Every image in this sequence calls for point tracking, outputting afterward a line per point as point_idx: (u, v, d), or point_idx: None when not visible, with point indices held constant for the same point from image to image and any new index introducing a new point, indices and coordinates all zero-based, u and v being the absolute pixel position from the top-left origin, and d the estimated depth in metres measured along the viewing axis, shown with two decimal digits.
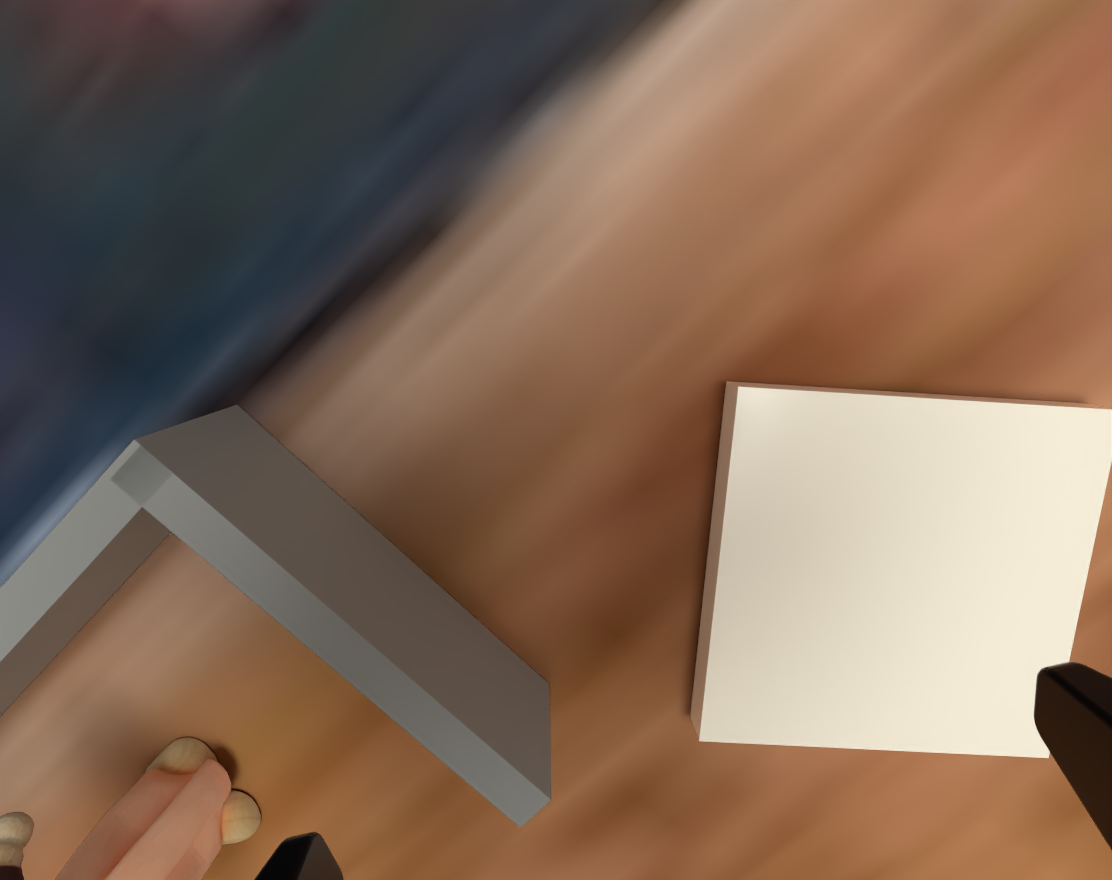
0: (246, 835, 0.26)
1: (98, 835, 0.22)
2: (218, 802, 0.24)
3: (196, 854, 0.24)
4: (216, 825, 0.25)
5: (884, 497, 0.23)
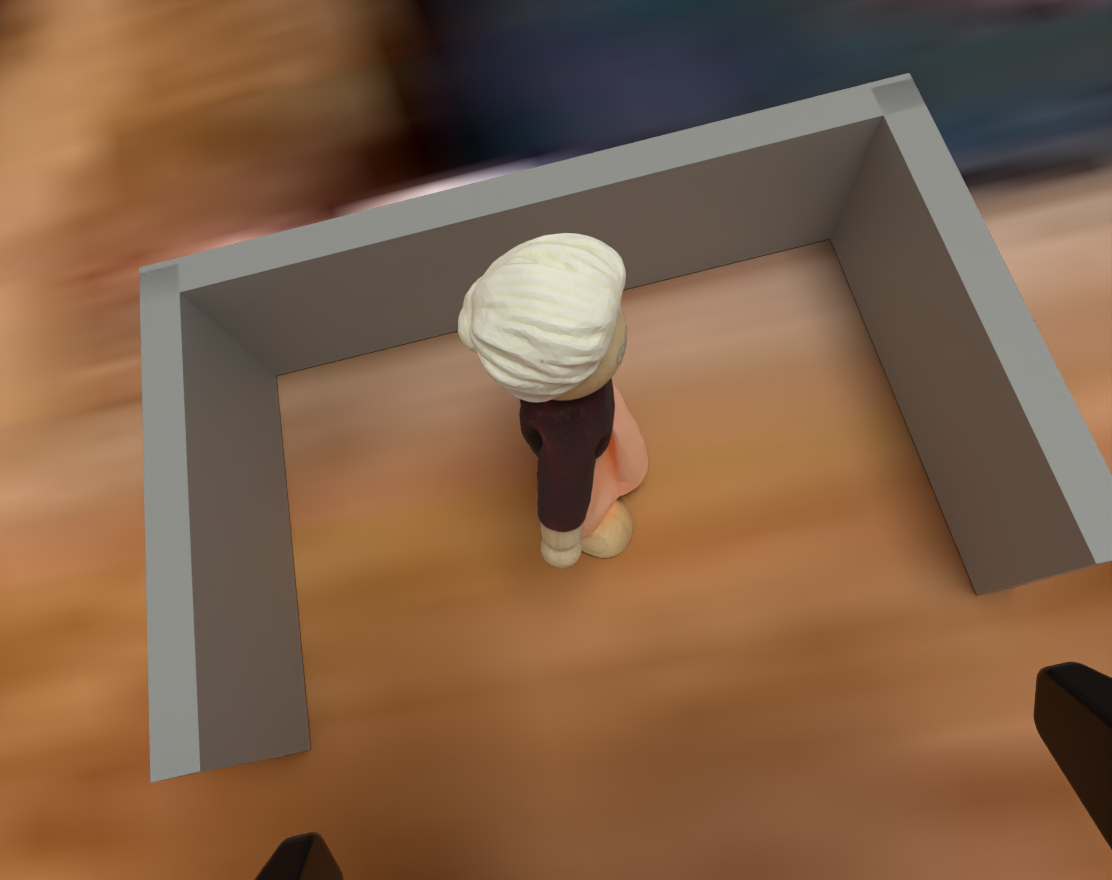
0: (612, 546, 0.23)
1: None
2: (640, 474, 0.22)
3: (597, 499, 0.22)
4: (610, 503, 0.22)
5: None
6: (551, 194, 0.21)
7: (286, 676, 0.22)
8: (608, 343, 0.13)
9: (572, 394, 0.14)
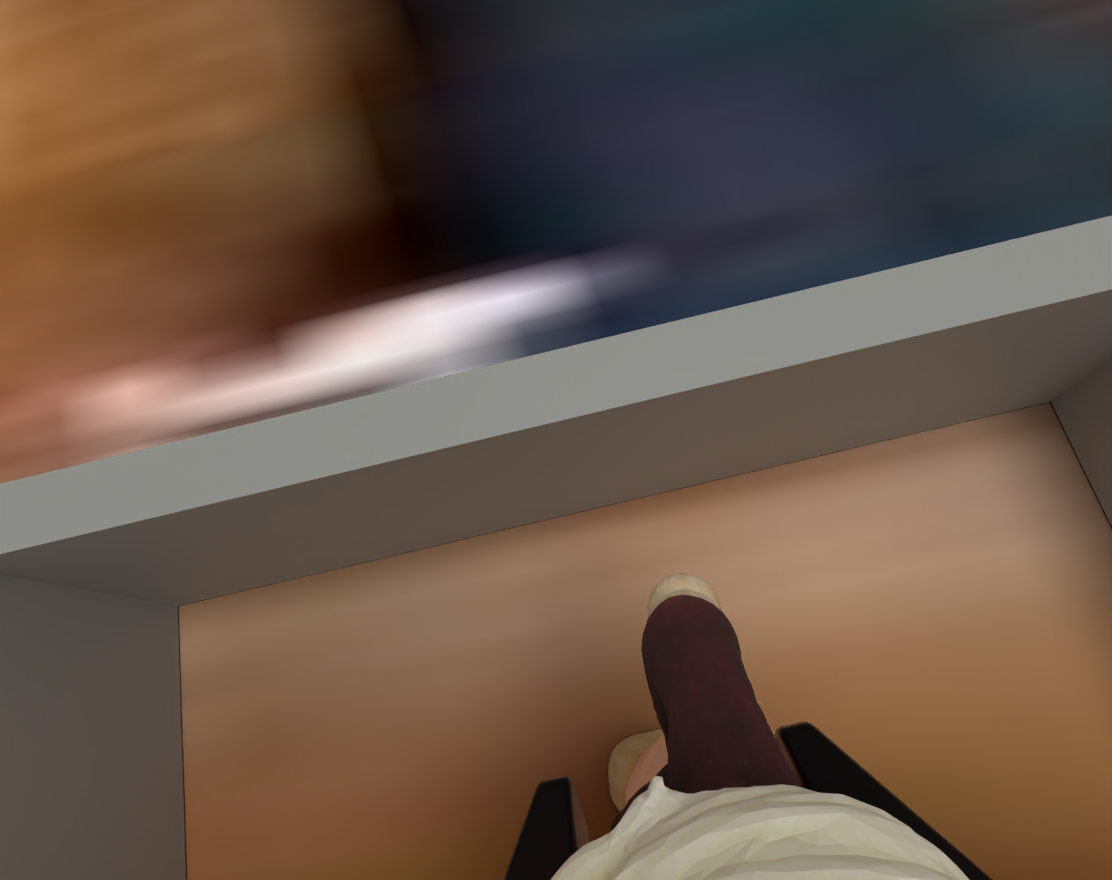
0: None
1: None
2: None
3: None
4: None
5: None
6: (636, 393, 0.11)
7: None
8: None
9: None
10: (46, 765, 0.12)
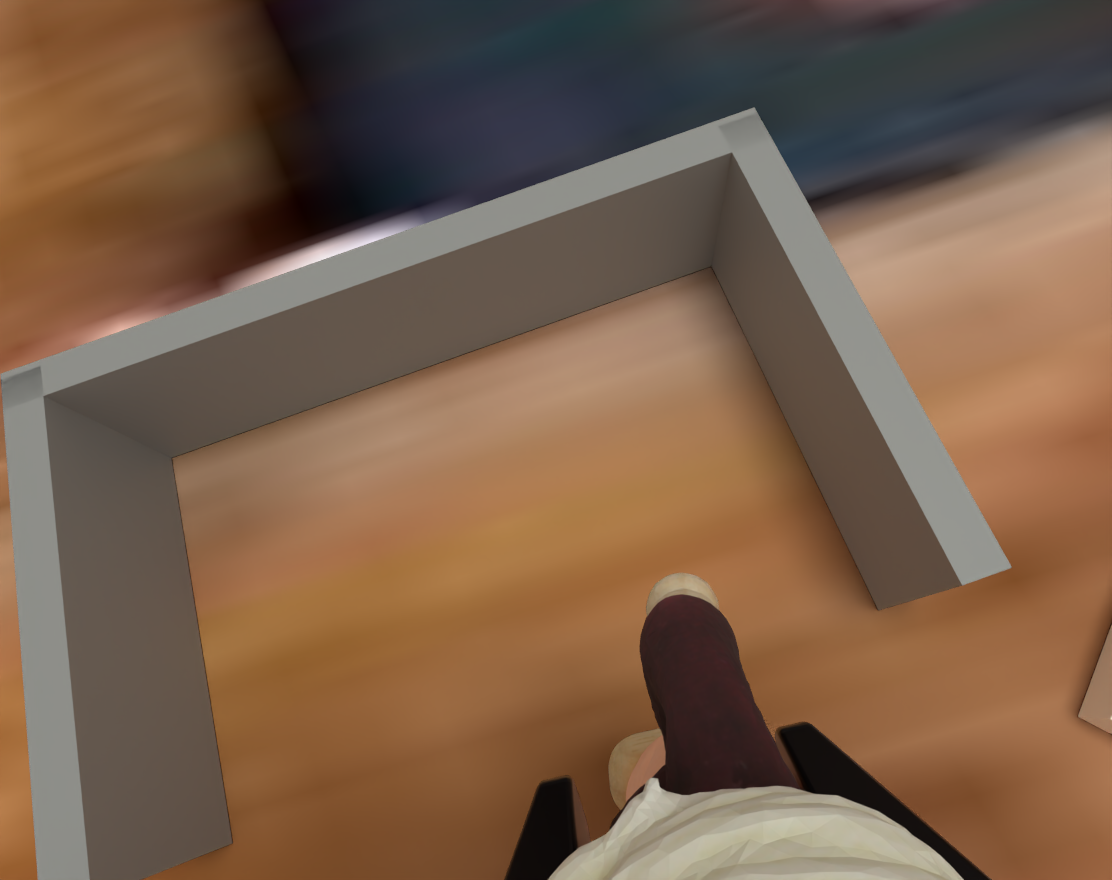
0: None
1: None
2: None
3: None
4: None
5: None
6: (413, 260, 0.21)
7: (198, 772, 0.21)
8: None
9: None
10: (106, 514, 0.21)
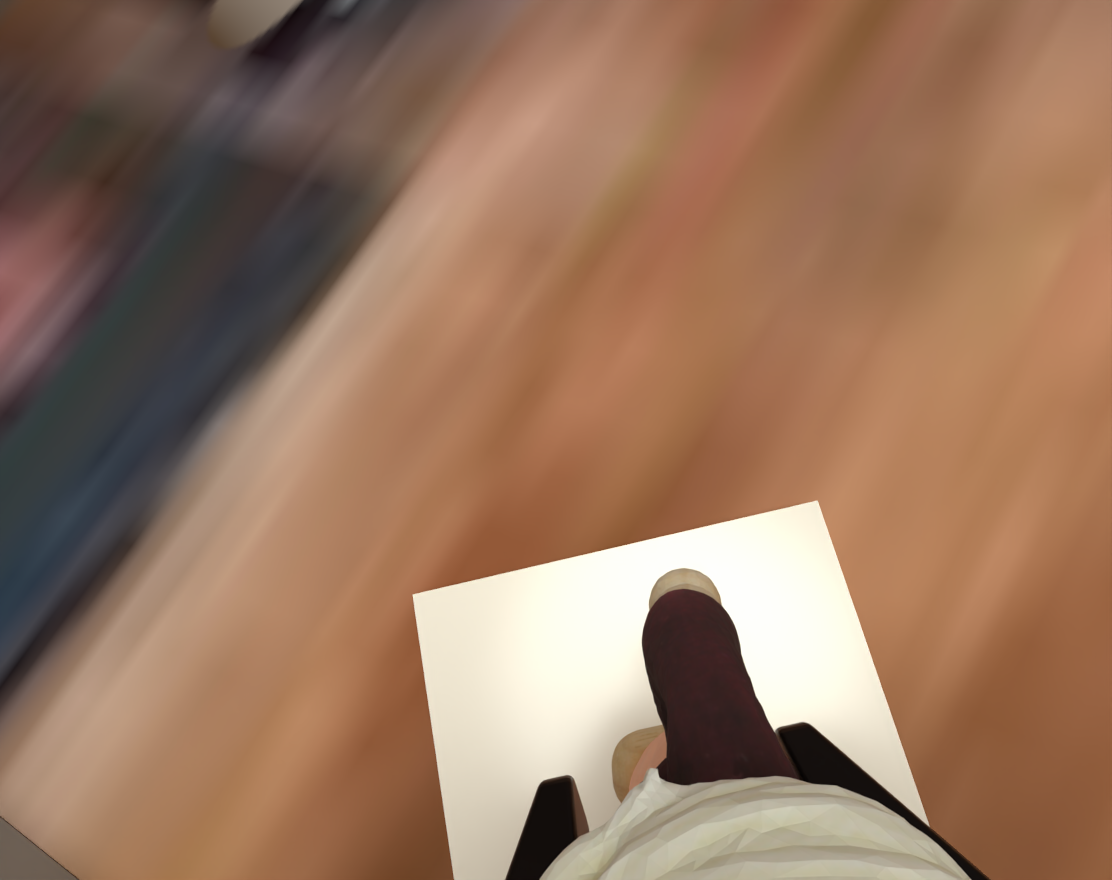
0: None
1: None
2: None
3: None
4: None
5: (605, 669, 0.20)
6: None
7: None
8: None
9: None
10: None
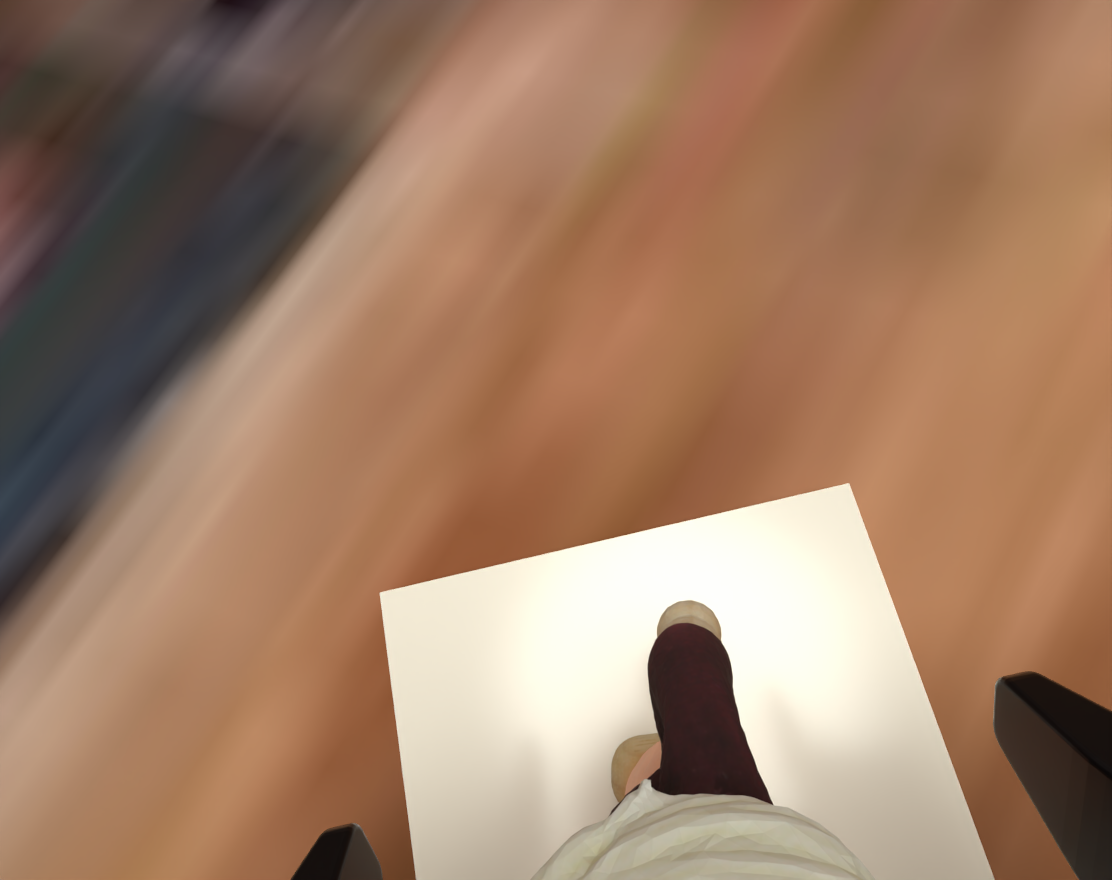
0: None
1: None
2: None
3: None
4: None
5: (603, 680, 0.17)
6: None
7: None
8: None
9: None
10: None
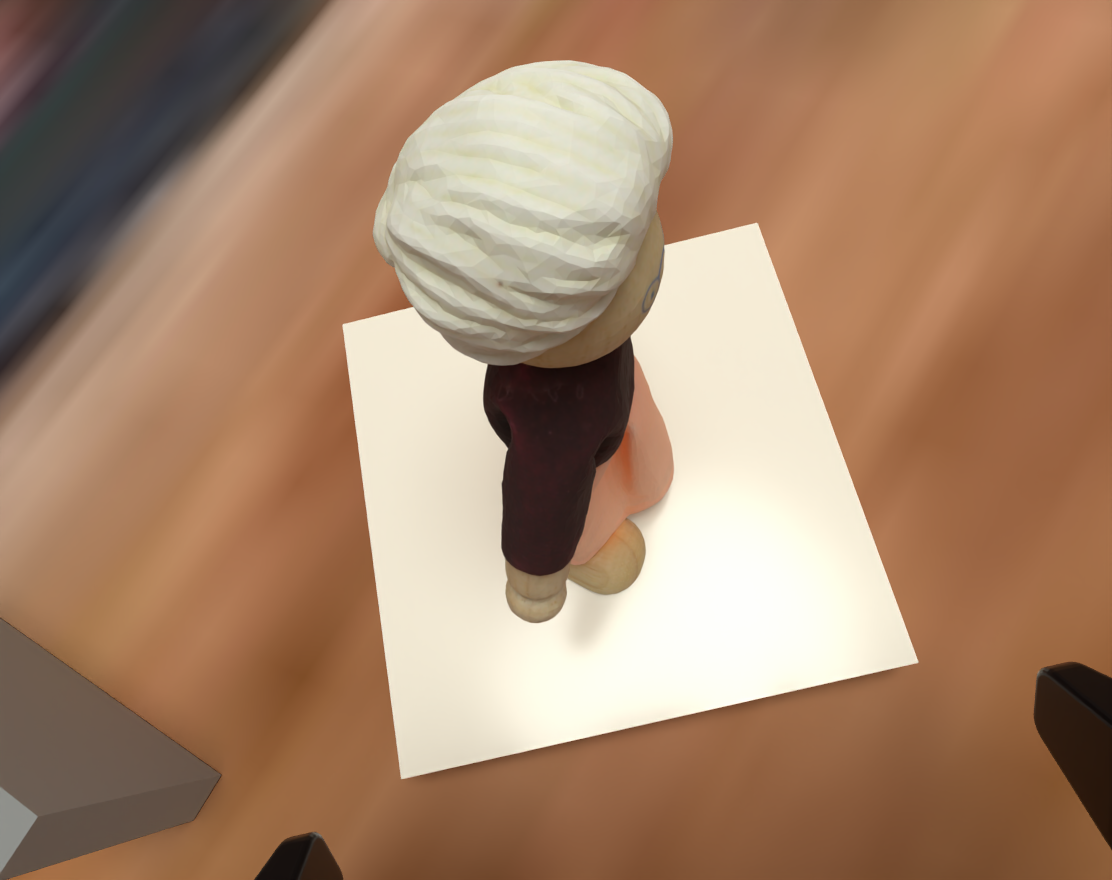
0: (615, 580, 0.17)
1: None
2: (661, 487, 0.16)
3: (600, 517, 0.16)
4: (617, 523, 0.17)
5: None
6: None
7: None
8: (630, 262, 0.07)
9: (561, 357, 0.08)
10: None
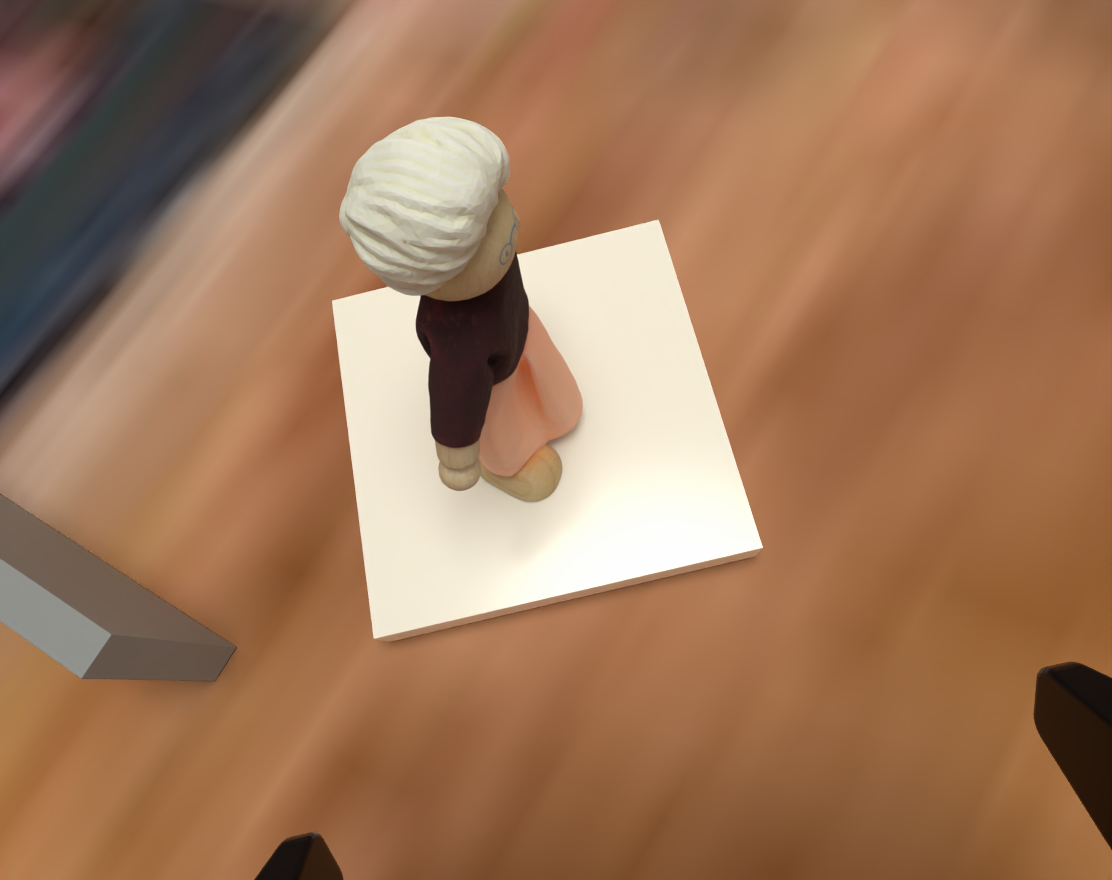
0: (536, 489, 0.22)
1: None
2: (569, 416, 0.22)
3: (520, 436, 0.21)
4: (537, 444, 0.22)
5: None
6: None
7: None
8: (478, 230, 0.12)
9: (452, 291, 0.14)
10: None
